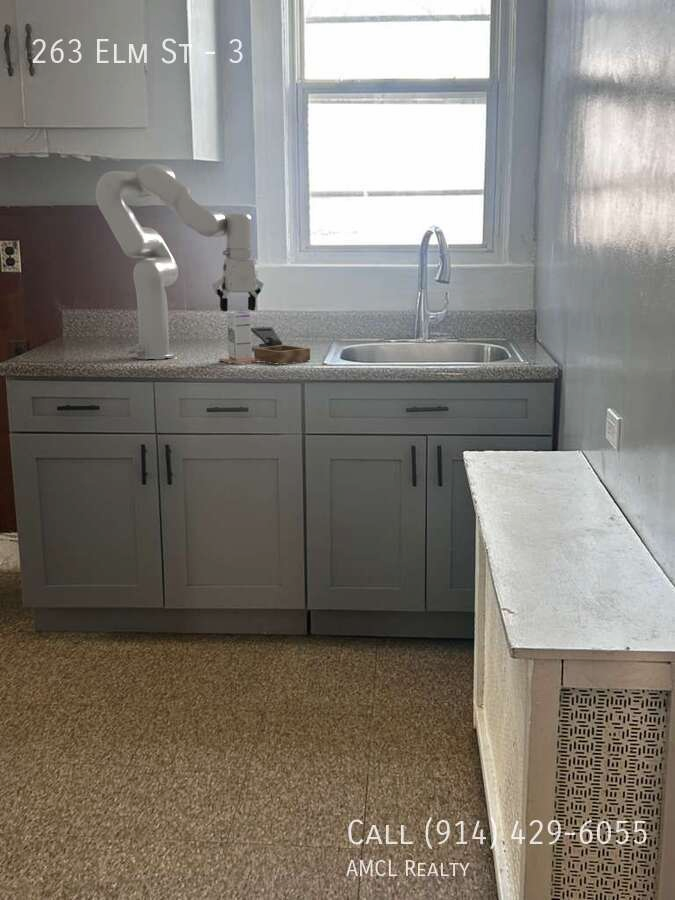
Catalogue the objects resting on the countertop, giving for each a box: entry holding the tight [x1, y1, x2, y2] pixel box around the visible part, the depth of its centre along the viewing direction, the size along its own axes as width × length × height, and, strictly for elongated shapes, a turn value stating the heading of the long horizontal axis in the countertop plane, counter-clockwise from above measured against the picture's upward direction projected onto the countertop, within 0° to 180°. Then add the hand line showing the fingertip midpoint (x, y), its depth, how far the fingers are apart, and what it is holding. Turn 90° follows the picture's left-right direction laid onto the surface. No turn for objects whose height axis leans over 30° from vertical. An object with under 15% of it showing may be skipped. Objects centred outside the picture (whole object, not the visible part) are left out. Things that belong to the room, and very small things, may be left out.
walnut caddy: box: [253, 344, 311, 364], centre depth 330 cm, size 12×12×4 cm
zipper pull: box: [251, 326, 283, 348], centre depth 355 cm, size 9×7×25 cm
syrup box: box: [227, 310, 253, 360], centre depth 327 cm, size 6×6×14 cm
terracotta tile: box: [218, 356, 261, 365], centre depth 329 cm, size 10×10×1 cm
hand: (237, 310), depth 326 cm, fingers open, 9 cm apart
